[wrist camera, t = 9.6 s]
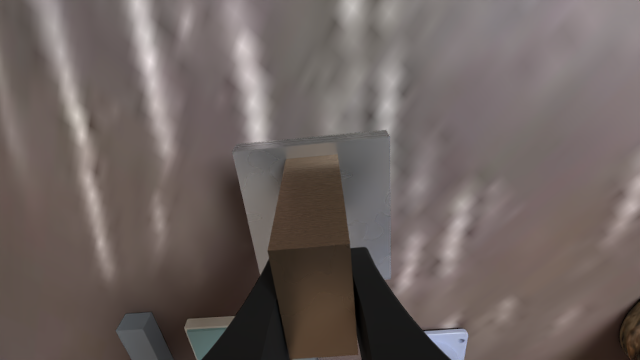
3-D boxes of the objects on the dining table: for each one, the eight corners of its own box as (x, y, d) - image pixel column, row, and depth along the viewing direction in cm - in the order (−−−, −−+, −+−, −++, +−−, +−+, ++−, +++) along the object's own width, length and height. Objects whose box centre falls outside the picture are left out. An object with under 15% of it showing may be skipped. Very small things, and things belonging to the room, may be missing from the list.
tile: (263, 350, 29) (260, 367, 28) (204, 354, 30) (199, 370, 28) (253, 310, 27) (249, 326, 26) (189, 313, 27) (183, 330, 26)
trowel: (386, 129, 14) (435, 219, 8) (387, 267, 17) (423, 401, 11) (236, 144, 14) (180, 240, 8) (265, 277, 17) (239, 414, 11)
